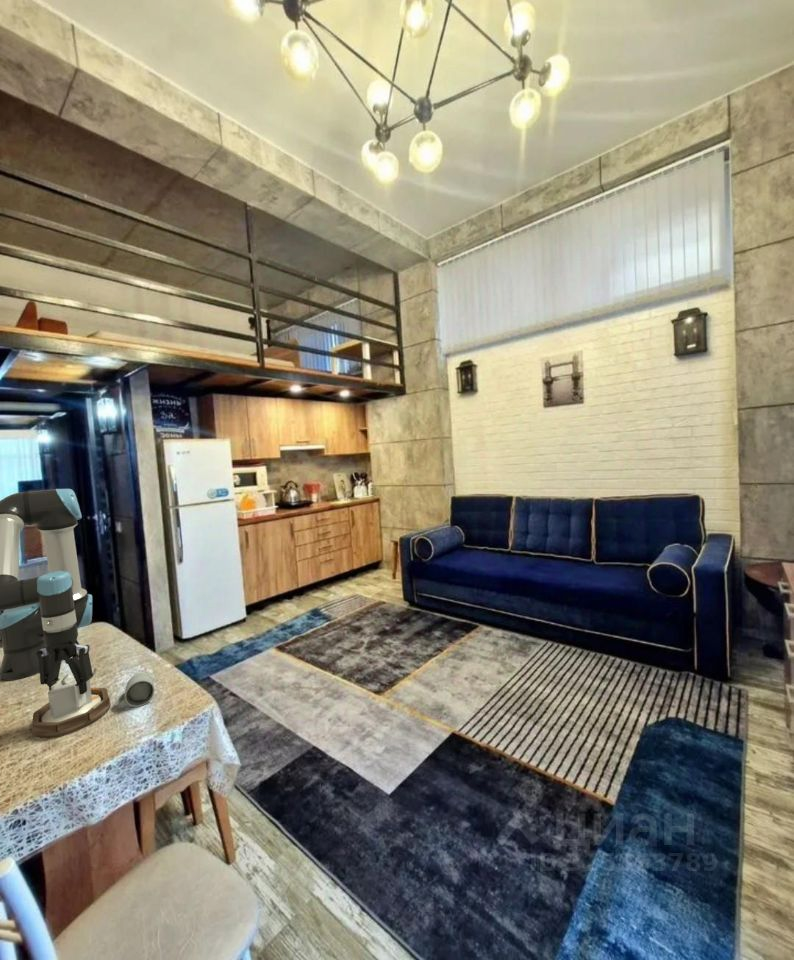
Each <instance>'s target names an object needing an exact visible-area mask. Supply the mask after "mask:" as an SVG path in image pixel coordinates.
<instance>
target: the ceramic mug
mask: <svg viewBox="0 0 794 960" xmlns="http://www.w3.org/2000/svg"><path fill="white" fill-rule="evenodd" d="M154 682H155V681H154V678H153V677H152V675H150V673H147V672H139V673H136V674H134V675H133V676H131V677H130V678H129V680H128V681H127V683H126V686H125V690H124V693H123V694H121V695H120V696H118V697H117V698H116V700H115V701H114V703H113V707H114V708H115V709H116V710H119V709H122V708H123V707H125V706H127V705H128V706H130V707H132V708H138V707H143V706H145V705H147V704H149V702H150V701H151V700H152V698H154V696H155V683H154Z"/></svg>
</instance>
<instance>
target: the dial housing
mask: <svg viewBox="0 0 794 960" xmlns="http://www.w3.org/2000/svg"><path fill="white" fill-rule="evenodd" d="M91 695H99V697H100V698H101V701H100V702H98V703H97V704H96V705H94V706H93V707H92V708H91V709H90V710H89V711H87V712H86V713H83V714H80V715H77V716H75V717H72V718H69V719H66V720H63V721H61V722H42V717H43V715H44V714H45V713H46V712H47V711H48V710H49V709H50V704H49V702H47V703H46V704H45V705H43V706H42V707H40V708H39V709H37V710H35V711H34V712H33V714H32V721H31V730H32V734H33V736H34V737H35V738H39V739H55V738H59V737H65V736H67V735H70V734H74V733H77V732H78V731H80V730H82V729H85V728H87V727H89V726H90V725H92V724H95V722H97V721H99V720H100V719H102V718H103V717H104V716H105V715H106V714H107V713H108V712H109V711H110V709H111V706H112V705H111V698H110V697H109V694H108V690H107V688H106V687H91Z"/></svg>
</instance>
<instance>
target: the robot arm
mask: <svg viewBox="0 0 794 960" xmlns="http://www.w3.org/2000/svg"><path fill="white" fill-rule="evenodd" d="M82 517H83V516H82V512H81V509H80V504H79V502H78V498H77V495H76V493H75V491H74V490H73V489H71V488H54V489H53V488H52V489H44V490H43V489H41V490H35V491H22V492H20V491H19V492H16V493H12V494H10V495H7V496H6V497H4V498H2V499H1V500H0V612H1V611H3V612H2V613H1V614H0V638H1V644H2V650H3V657H2V660H1V664H0V680H3V681H13V680H19V679H24V678H28V677H30V676H33V675H36V674H39V680H40V681H39V682H40V685H47V687H48V690H49V691H51V690H53V689H56V688H58V687H61V686H63V684H62V681H60V678H59V675H60V671H61V665H62V661H64V663H65V664H67V665H68V668H69V669H70V671H71V673H72V676H73V678H74V681H75V680H76V683H77V684H75V685H74V689H75V696H76V704H77V707H80V706H81V705H83V704H84V703H85V702H86V694H85V692H87V684H86V681H88V680H91V679H92V678H93V677H94V676H93V673H94V672H93V667H92V664H91V658H90V645H89V644H85V645H81V644H80V643H79V641H78V636H79V632H78V630H79V629H80V628H84V627H87V626H90V624H91V623H92V619H93V618H92V617H93V595H92V594H90V593H88V591H87V589H85V588H82V584H81V575H80V570H79V562H78V555H77V546H76V539H75V531H74V528H75V527H76V526H78V524H79V523H78V520H81V519H82ZM33 525H35V526H36V530H37V531H39V532H41V533H42V534H43V541H44V547H45V555H46V560H47V568H48V572H49V573H45V574H43V575H41V576H36V577H32V578H31V577H29V578H25V579H19V575H20V547H21V546H20V544H21V543H20V542H21V541H20V539H21V536H20V535H21V531H23V529H24V527H26V526H33Z"/></svg>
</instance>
